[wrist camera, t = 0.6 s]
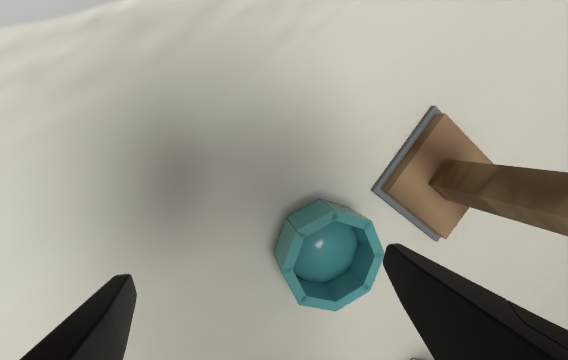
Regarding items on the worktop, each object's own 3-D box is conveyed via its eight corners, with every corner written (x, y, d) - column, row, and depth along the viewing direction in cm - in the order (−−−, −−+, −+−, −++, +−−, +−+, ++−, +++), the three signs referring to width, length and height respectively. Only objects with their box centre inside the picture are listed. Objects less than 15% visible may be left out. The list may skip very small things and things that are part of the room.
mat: (434, 240, 28) (436, 241, 28) (371, 190, 25) (373, 191, 25) (489, 165, 28) (492, 165, 28) (431, 106, 25) (434, 105, 25)
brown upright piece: (436, 234, 28) (587, 306, 16) (380, 189, 25) (512, 236, 13) (486, 166, 27) (674, 190, 16) (435, 114, 25) (614, 97, 13)
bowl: (343, 292, 27) (359, 315, 23) (265, 276, 24) (271, 299, 21) (373, 215, 26) (395, 227, 22) (295, 191, 23) (306, 201, 20)
